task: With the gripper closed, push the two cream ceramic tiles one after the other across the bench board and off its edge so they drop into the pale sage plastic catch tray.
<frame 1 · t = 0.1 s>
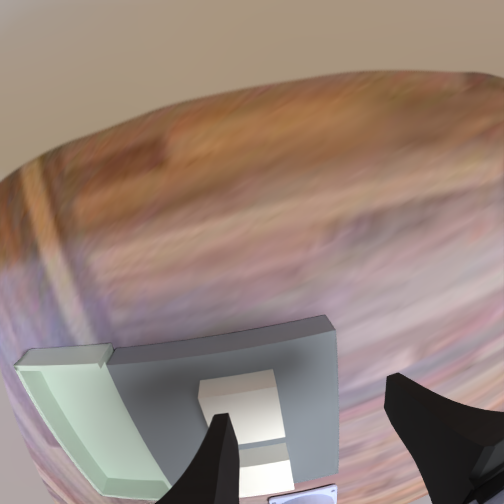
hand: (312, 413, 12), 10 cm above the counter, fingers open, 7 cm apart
tile a: (260, 464, 22), point 2 cm above the counter, touching bench board
bench board: (238, 418, 24), on the counter
tile b: (242, 401, 20), point 2 cm above the counter, touching bench board
catch tray: (106, 426, 24), on the counter
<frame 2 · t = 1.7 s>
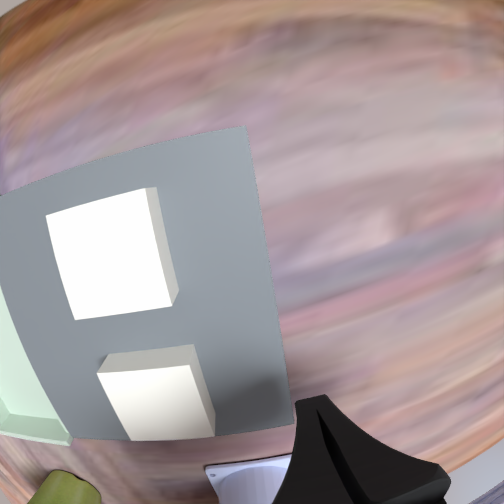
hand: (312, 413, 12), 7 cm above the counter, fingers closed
tile a: (162, 386, 16), point 2 cm above the counter, touching bench board
bench board: (136, 308, 17), on the counter
tile b: (119, 249, 14), point 2 cm above the counter, touching bench board
plant pot: (75, 484, 22), on the counter
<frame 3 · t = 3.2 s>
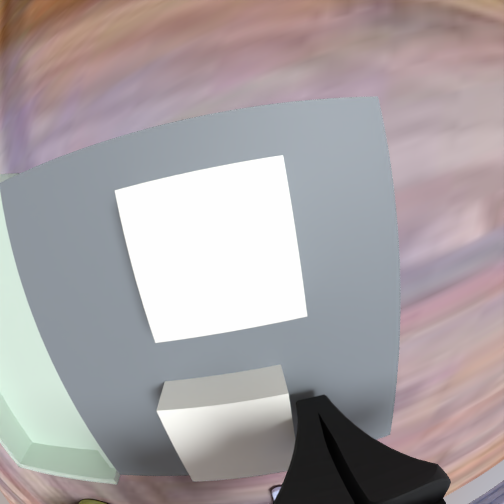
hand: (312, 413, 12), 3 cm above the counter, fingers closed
tile a: (233, 415, 13), point 2 cm above the counter, touching bench board, gripper
bench board: (215, 319, 14), on the counter
tile b: (215, 242, 11), point 2 cm above the counter, touching bench board
catch tray: (15, 343, 14), on the counter
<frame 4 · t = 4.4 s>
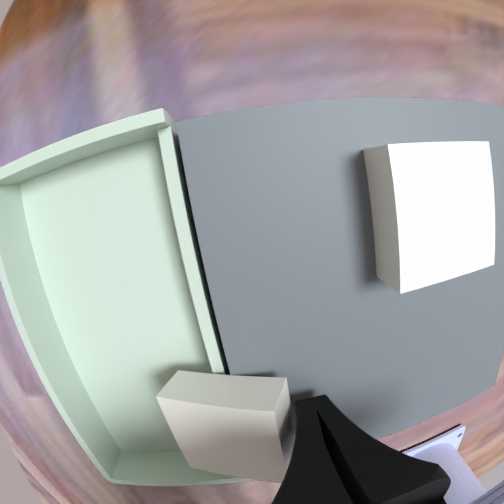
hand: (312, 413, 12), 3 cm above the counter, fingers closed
tile a: (239, 415, 13), point 2 cm above the counter, tilted 21°, touching bench board
bench board: (383, 284, 15), on the counter
tile b: (423, 206, 11), point 2 cm above the counter, touching bench board
catch tray: (129, 331, 14), on the counter
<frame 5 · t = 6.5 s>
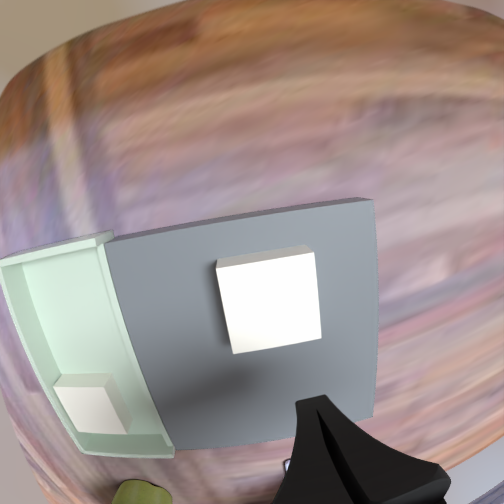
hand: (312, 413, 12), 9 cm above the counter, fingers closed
tile a: (89, 411, 20), point 2 cm above the counter, tilted 180°, touching catch tray
bench board: (257, 335, 21), on the counter
tile b: (267, 293, 18), point 2 cm above the counter, touching bench board
catch tray: (94, 353, 21), on the counter
plant pot: (146, 491, 26), on the counter
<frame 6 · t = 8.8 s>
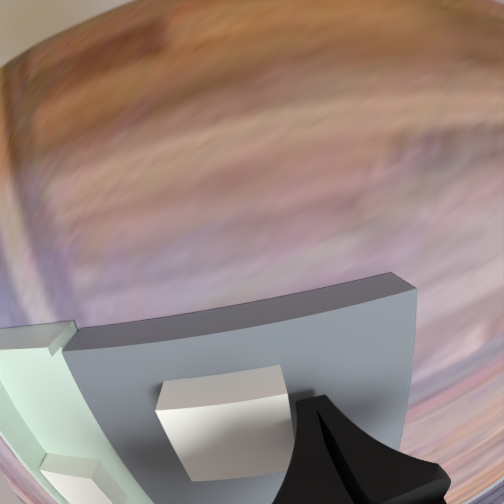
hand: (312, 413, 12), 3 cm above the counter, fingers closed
tile a: (80, 494, 15), point 2 cm above the counter, tilted 180°, touching catch tray
bench board: (260, 431, 16), on the counter
tile b: (232, 415, 13), point 3 cm above the counter, touching bench board
catch tray: (77, 439, 16), on the counter
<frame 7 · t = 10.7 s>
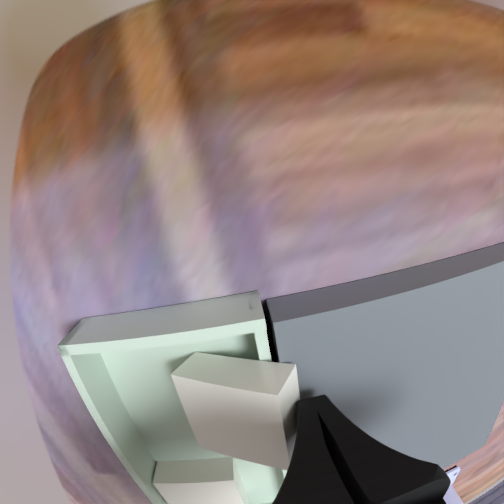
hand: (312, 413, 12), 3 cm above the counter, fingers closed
tile a: (203, 501, 15), point 2 cm above the counter, tilted 180°, touching catch tray
bench board: (409, 391, 16), on the counter
tile b: (251, 400, 14), point 2 cm above the counter, tilted 29°, touching bench board, catch tray, gripper
catch tray: (208, 438, 16), on the counter
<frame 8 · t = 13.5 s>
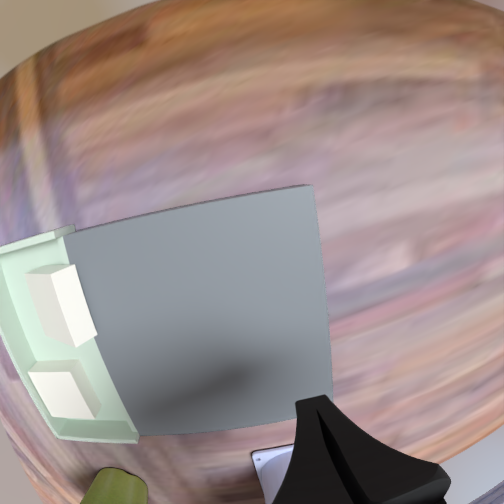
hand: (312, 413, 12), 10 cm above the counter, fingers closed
tile a: (59, 396, 20), point 2 cm above the counter, tilted 180°, touching catch tray
bench board: (209, 323, 22), on the counter
tile b: (68, 298, 19), point 2 cm above the counter, tilted 29°, touching bench board, catch tray
catch tray: (63, 341, 22), on the counter
plant pot: (123, 480, 26), on the counter
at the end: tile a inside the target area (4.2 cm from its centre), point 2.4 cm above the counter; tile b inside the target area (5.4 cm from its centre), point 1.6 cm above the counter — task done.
